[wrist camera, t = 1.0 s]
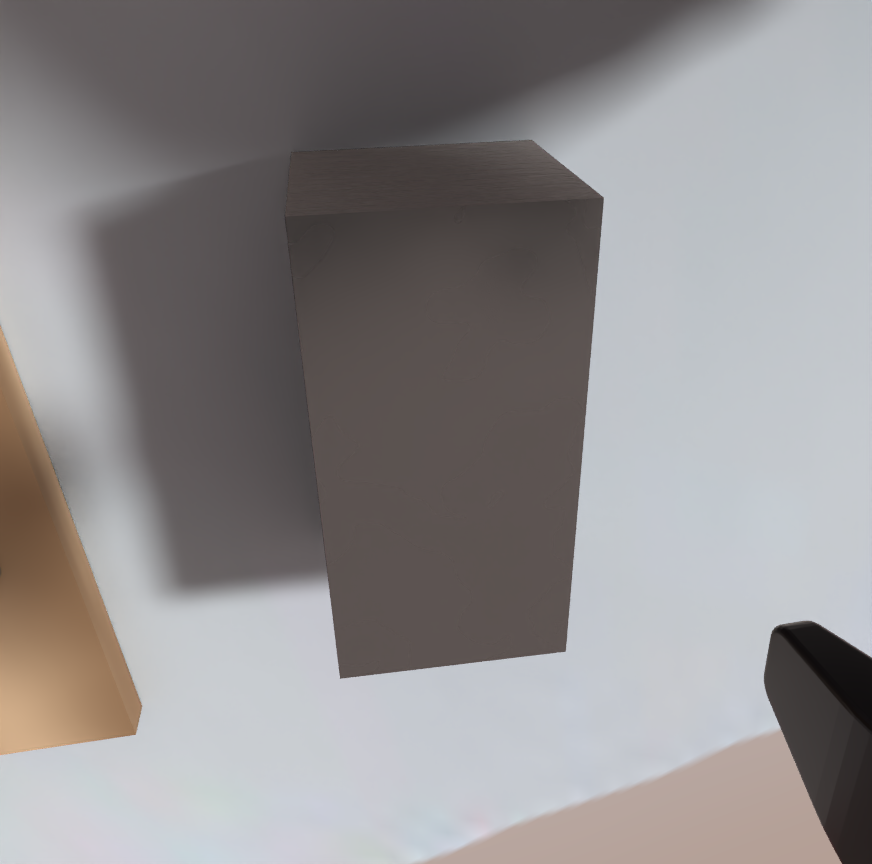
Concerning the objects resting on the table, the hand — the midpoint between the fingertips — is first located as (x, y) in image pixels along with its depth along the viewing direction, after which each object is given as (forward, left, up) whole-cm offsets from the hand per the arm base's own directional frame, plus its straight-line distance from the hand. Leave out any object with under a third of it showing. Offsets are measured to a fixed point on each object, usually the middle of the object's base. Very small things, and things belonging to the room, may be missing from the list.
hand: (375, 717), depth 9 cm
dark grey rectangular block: (-2, +1, -11) cm, 12 cm away
